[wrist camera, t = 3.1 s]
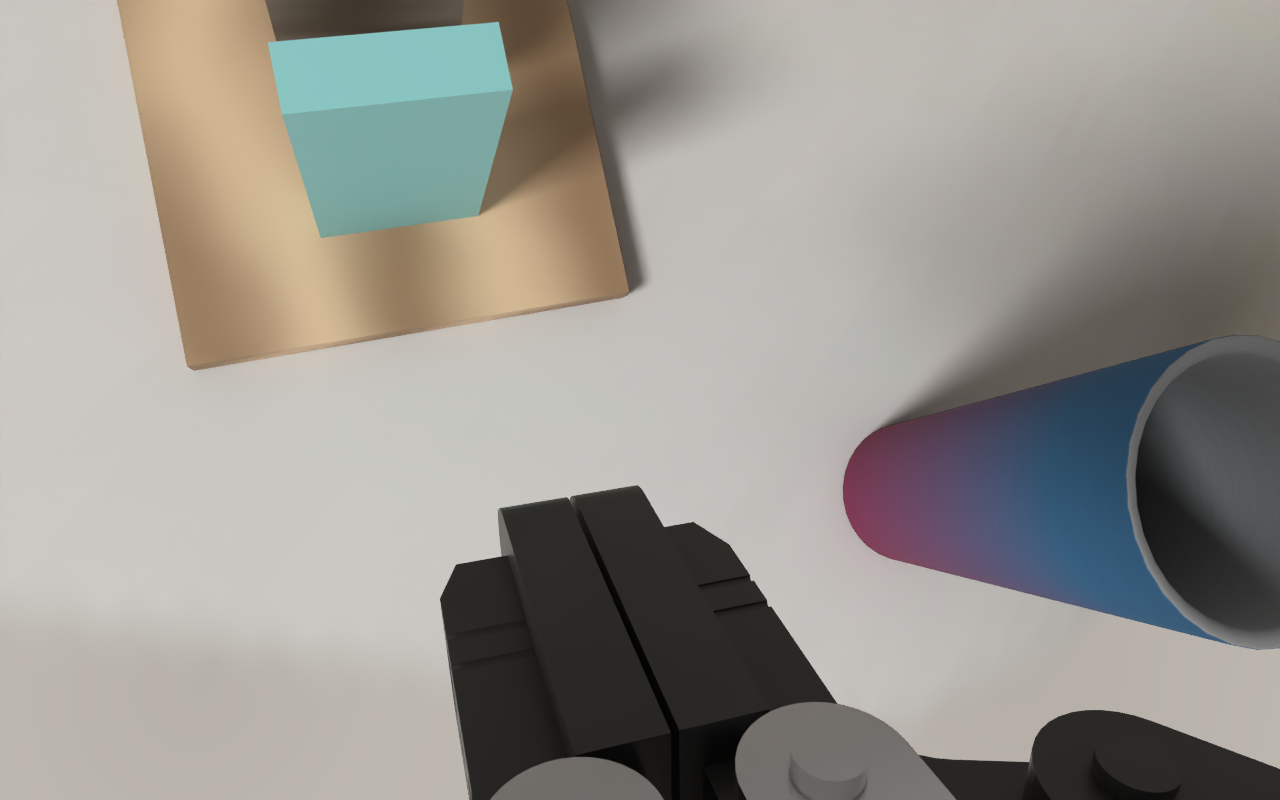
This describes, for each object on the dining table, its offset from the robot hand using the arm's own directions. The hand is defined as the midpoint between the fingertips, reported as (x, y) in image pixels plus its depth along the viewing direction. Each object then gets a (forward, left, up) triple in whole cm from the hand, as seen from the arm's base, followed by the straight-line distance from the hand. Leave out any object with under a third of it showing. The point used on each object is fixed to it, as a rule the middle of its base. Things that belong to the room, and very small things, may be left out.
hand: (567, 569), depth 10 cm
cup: (-16, +3, -22) cm, 27 cm away
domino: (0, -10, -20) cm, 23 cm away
